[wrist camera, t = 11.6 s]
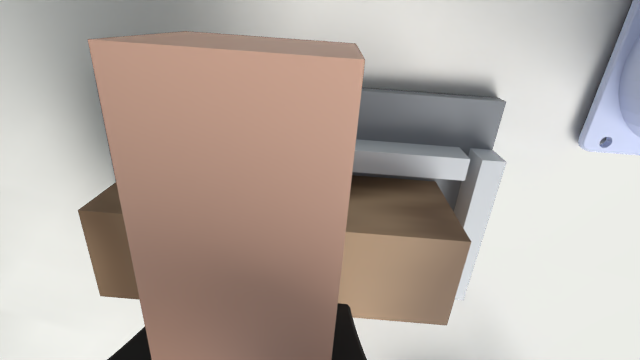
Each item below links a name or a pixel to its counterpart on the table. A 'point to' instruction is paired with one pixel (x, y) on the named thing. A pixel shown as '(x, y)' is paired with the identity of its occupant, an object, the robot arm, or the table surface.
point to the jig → (435, 151)
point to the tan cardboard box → (358, 257)
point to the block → (233, 186)
